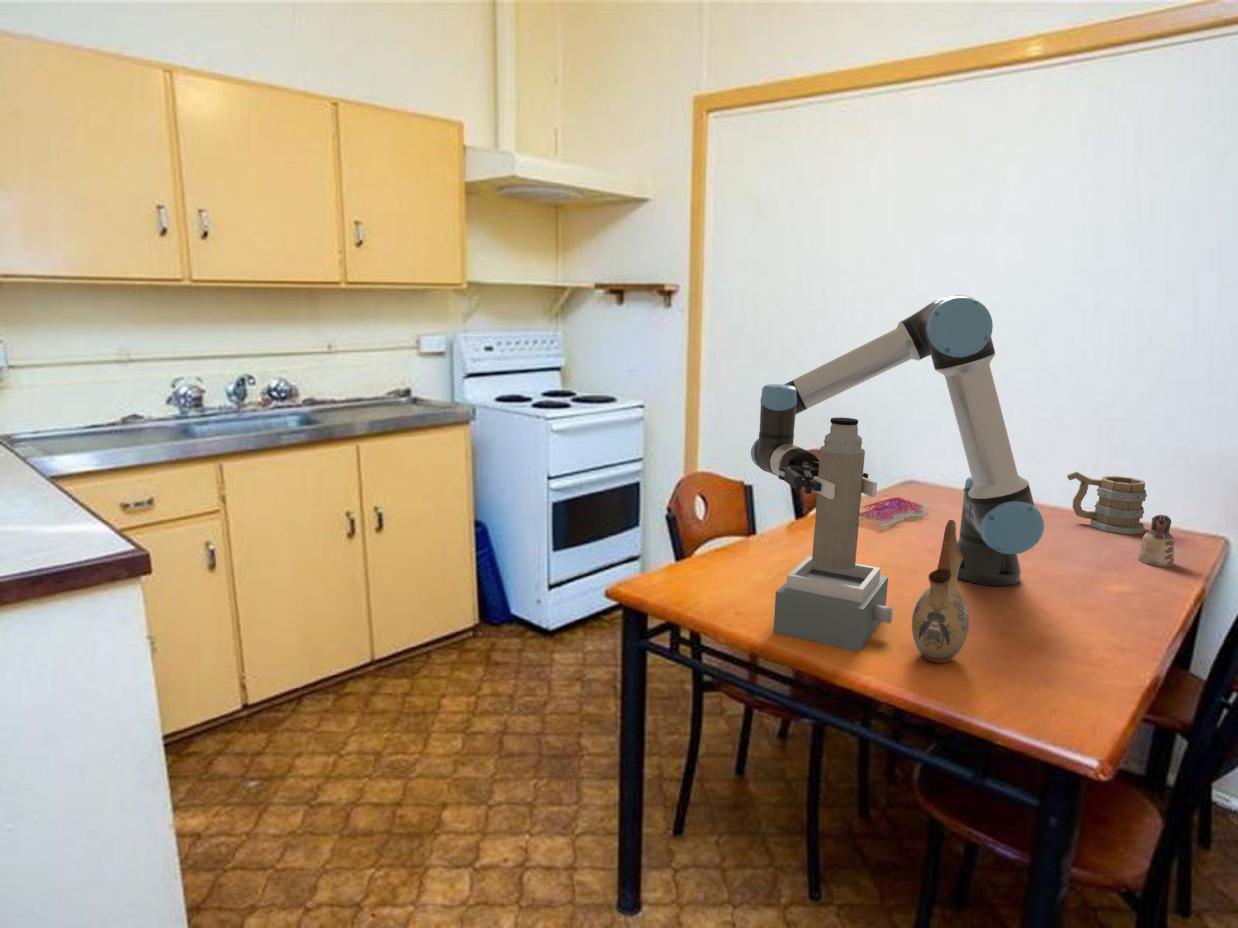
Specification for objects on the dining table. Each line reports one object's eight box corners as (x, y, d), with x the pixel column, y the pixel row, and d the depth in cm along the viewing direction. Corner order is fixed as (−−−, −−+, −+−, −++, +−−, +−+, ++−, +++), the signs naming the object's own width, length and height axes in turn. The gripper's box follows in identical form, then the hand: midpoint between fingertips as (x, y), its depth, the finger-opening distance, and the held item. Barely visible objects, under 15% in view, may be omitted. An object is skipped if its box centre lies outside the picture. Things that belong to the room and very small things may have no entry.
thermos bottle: (853, 559, 151) (865, 416, 145) (857, 572, 143) (869, 422, 138) (811, 555, 153) (821, 414, 147) (812, 569, 145) (823, 420, 139)
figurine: (1175, 562, 190) (1183, 514, 188) (1170, 568, 185) (1178, 520, 183) (1141, 555, 195) (1148, 509, 193) (1135, 562, 190) (1142, 514, 188)
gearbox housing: (900, 618, 153) (905, 567, 151) (877, 655, 136) (882, 599, 134) (806, 598, 163) (809, 550, 161) (773, 631, 146) (776, 578, 144)
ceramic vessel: (918, 635, 145) (931, 505, 140) (971, 646, 141) (986, 513, 136) (899, 668, 132) (912, 526, 127) (956, 682, 127) (972, 535, 122)
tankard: (1142, 526, 222) (1150, 475, 219) (1143, 537, 212) (1151, 483, 209) (1062, 515, 232) (1069, 466, 229) (1059, 525, 222) (1066, 474, 219)
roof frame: (884, 534, 212) (886, 515, 211) (837, 522, 223) (838, 504, 222) (938, 516, 231) (940, 499, 230) (892, 506, 243) (893, 490, 242)
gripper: (838, 481, 165) (902, 508, 144) (748, 484, 160) (800, 513, 139) (841, 446, 164) (906, 468, 142) (750, 448, 159) (803, 472, 137)
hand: (853, 490), depth 140 cm, fingers closed on thermos bottle, 8 cm apart
